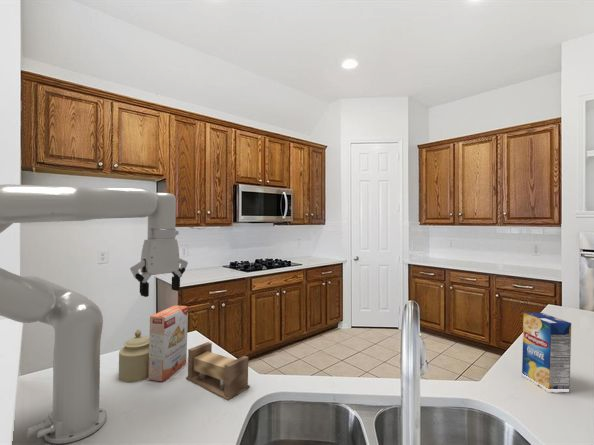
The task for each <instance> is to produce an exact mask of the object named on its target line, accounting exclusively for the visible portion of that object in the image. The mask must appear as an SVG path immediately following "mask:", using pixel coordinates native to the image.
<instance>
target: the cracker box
mask: <svg viewBox="0 0 594 445" xmlns="http://www.w3.org/2000/svg"><path fill="white" fill-rule="evenodd" d="M188 317H189V306H187V305H177V304H176V305H172V306H170V307H168V308H166V309H163V310H160V311H159V312H157V313H155V314H152V315H150V316H149V336H148V338H149V368H148V378H147V379H148V380H149V381H157V382H161V383H162V382H165V380H167V379H168V378H169V377H170V376H172V375H173V374H174V373H176V372H177V371H178V370H179V369H181V368H182V367H183V366H185V365H186V364H187V358H188V357H187V355H188V353H187V352H188V351H187V350H188V348H187V347H188V325H189V324H188V322H189V318H188Z"/></svg>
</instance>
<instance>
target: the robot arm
mask: <svg viewBox="0 0 594 445" xmlns="http://www.w3.org/2000/svg"><path fill="white" fill-rule="evenodd" d="M176 205H177V200H176V196H175V195H174V194H173V193H169V192H151V191H149V190H147V189H144V188H130V187H129V188H125V187H123V188H122V187H121V188H120V187H118V188H117V187H91V186H90V187H89V186H78V185H77V186H75V185H74V186H71V185H41V184H40V185H37V184H36V185H33V184H11V183H10V184H9V183H8V184H6V183H5V184H0V234H1V233H2V232H3V233H4V231H5V230H6V229H7V228H10V227H11V226H12V225H14V224H21V223H22V224H23V223H24V224H25V223H28V224H29V223H30V224H31V223H52V222H56V223H57V222H83V221H91V220H93V221H94V220H102V219H105V220H106V219H108V220H109V219H132V218H135V219H138V218H142V219H143V218H146V217H147V239H144V241H143V244H142V249H141V253H140V254H141V255H140V256H141V257H140V262H138V263H135V264H134V265H133V266H131V267H130V269H129V270H130V272H131V274H132V275H133V278H134V279H135V280H137V281H138V282H139V294H140V296H141V297H145V298H147V297H149V296H150V294H149V293H150V283H149V282H148V281H149V279H150V278H151V276H156V275H166V274H170V273H171V274H172V276H171V290H172V291H176V292H179V291H180V288H181V278H182V277H183V274H185V272H186V268H187V267H188V264H189V262H188V261H187V260H184V259H182V258H180V249H179V243H178V240H177V239H176V236H178V235H179V231H178V230H177V229H176V221H177V220H176V214H177V212H176V210H177V209H176V208H177V206H176ZM139 271H140V272H139ZM140 273H141V274H140ZM0 316H1V317H3V318H7V319H9V320H12V321H15V322H18V323H24V324H30V323H31V324H33V323H37V322H40V323H41V324H42V323H43V324H45V325H49V326H50V327H51V326H52V328H53V331H54V345H53V357H52V359H53V360H52V412H50V413H48V415H47V419H44V420H43V421H42V422H41V423H39V424H35V425H32V426H29V427H28V428H26V430H25V434H26V437H27V438H30V437H33V436H36V438H37V439H39V438H42V437H43V438H44V440H45V441H46V442H47V443H50V444H53V445H54V444H55V445H56V444H57V445H60V444H61V445H62V444H67V443H73V442H77V441H80V440H82V439H84V438H87V437H88V436H91V435H92V434H93V433H96V432H97V431H98V430H99V429H100V428H102V426H104V424H105V423H106V421H107V412H106V410H105V409H103V408H100V391H101V390H100V389H101V388H100V385H101V384H100V383H101V382H100V381H101V380H100V379H101V378H100V376H101V373H100V372H101V369H100V368H101V360H100V359H101V343H102V342H101V340H102V334H103V327H104V318H103V317H104V316H103V314H102V311H101V309H100V307H99V306H98V305H97V304H96V303H95V302H94V301H92V300H91V299H89V298H88V297H87V296H85V295H83V294H81V293H78V292H77V291H74V290H71V289H69V288H66V287H64V286H62V285H59V284H56V283H54V282H52V281H49V280H47V279H44V278H41V277H39V276H38V277H37V276H32V275H28V276H27V275H26V276H21V275H18V274H16V273H13V272H10V271H8V270H6V269H4V268H2V267H0Z"/></svg>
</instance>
